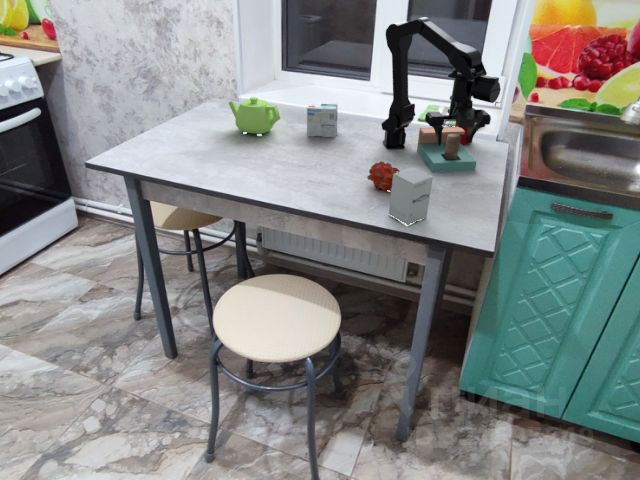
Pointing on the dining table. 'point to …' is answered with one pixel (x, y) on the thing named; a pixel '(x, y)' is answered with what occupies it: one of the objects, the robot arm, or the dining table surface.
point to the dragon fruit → (382, 175)
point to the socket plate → (443, 151)
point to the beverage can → (463, 135)
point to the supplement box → (410, 195)
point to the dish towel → (436, 108)
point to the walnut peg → (452, 147)
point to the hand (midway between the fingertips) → (453, 144)
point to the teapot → (255, 115)
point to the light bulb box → (322, 119)
